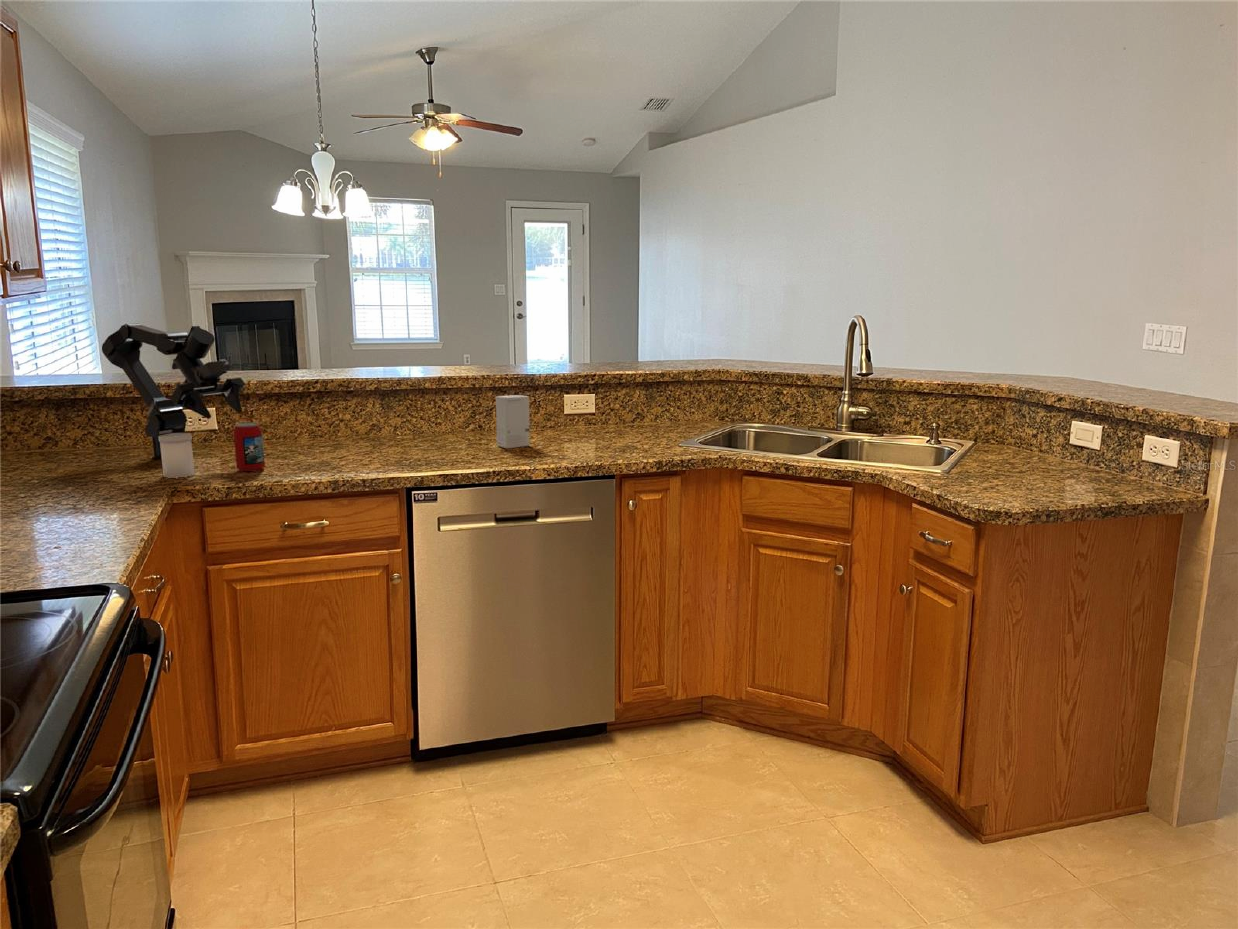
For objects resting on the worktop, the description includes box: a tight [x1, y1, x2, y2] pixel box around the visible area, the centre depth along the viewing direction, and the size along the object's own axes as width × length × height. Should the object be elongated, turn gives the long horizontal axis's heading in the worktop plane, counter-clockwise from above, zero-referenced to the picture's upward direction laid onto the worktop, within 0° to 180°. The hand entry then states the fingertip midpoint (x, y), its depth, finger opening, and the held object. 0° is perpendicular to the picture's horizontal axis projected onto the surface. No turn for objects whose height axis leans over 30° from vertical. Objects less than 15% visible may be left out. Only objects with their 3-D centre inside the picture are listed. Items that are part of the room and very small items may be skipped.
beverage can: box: [233, 421, 266, 472], centre depth 230 cm, size 7×7×12 cm
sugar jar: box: [158, 432, 195, 479], centre depth 224 cm, size 7×7×10 cm
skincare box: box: [495, 394, 531, 450], centre depth 262 cm, size 8×6×15 cm
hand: (225, 415), depth 233 cm, fingers open, 9 cm apart
